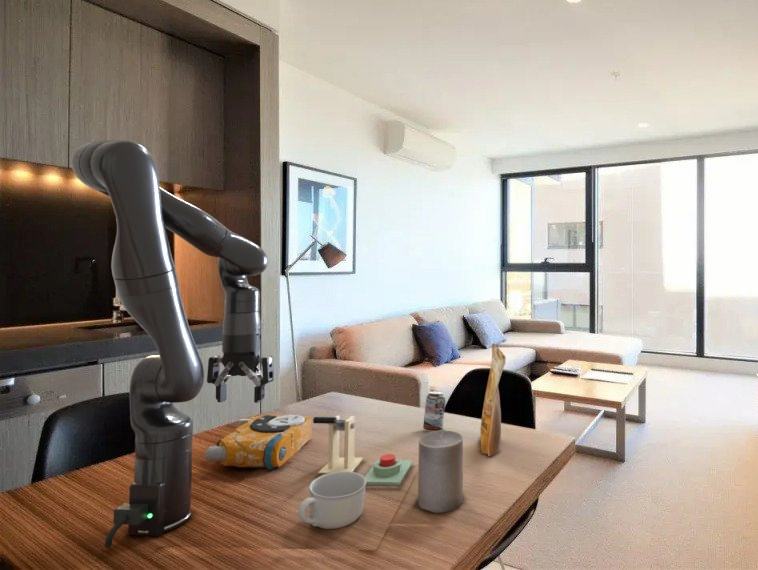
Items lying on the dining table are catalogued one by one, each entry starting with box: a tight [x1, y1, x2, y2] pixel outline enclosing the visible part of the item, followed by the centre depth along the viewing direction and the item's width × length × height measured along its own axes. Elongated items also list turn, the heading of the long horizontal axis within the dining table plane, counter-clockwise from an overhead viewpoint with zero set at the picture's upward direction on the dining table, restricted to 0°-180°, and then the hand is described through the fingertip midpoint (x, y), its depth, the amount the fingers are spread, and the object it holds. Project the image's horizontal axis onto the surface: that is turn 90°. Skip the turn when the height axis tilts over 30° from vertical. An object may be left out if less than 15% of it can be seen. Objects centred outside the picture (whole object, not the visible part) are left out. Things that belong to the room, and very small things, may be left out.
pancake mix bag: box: [479, 343, 507, 457], centre depth 131 cm, size 7×19×28 cm, turn 4°
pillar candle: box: [417, 430, 464, 514], centre depth 99 cm, size 10×10×15 cm
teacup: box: [297, 471, 367, 530], centre depth 90 cm, size 14×11×8 cm
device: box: [204, 414, 313, 471], centre depth 126 cm, size 23×8×30 cm
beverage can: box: [422, 390, 446, 432], centre depth 143 cm, size 6×7×12 cm
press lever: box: [312, 416, 347, 432], centre depth 111 cm, size 13×5×2 cm, turn 178°
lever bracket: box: [317, 415, 364, 474], centre depth 115 cm, size 9×8×13 cm
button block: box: [364, 457, 413, 486], centre depth 111 cm, size 12×9×4 cm
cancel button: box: [379, 453, 396, 467], centre depth 111 cm, size 4×4×2 cm
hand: (240, 401), depth 105 cm, fingers open, 8 cm apart
